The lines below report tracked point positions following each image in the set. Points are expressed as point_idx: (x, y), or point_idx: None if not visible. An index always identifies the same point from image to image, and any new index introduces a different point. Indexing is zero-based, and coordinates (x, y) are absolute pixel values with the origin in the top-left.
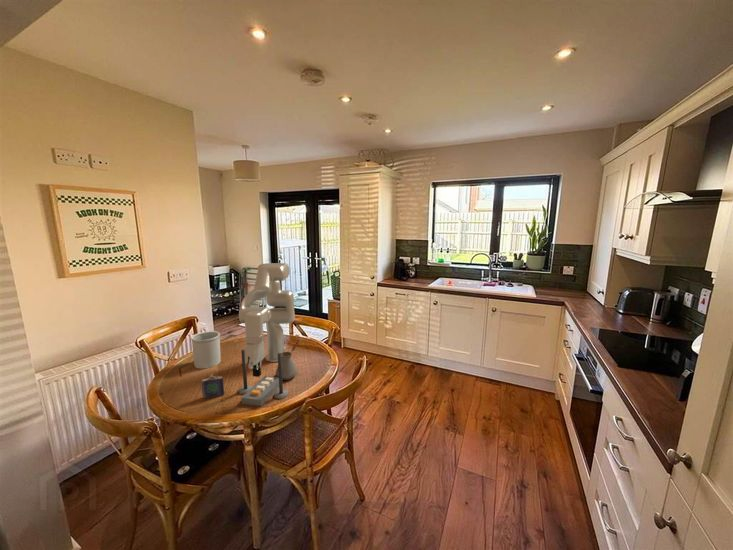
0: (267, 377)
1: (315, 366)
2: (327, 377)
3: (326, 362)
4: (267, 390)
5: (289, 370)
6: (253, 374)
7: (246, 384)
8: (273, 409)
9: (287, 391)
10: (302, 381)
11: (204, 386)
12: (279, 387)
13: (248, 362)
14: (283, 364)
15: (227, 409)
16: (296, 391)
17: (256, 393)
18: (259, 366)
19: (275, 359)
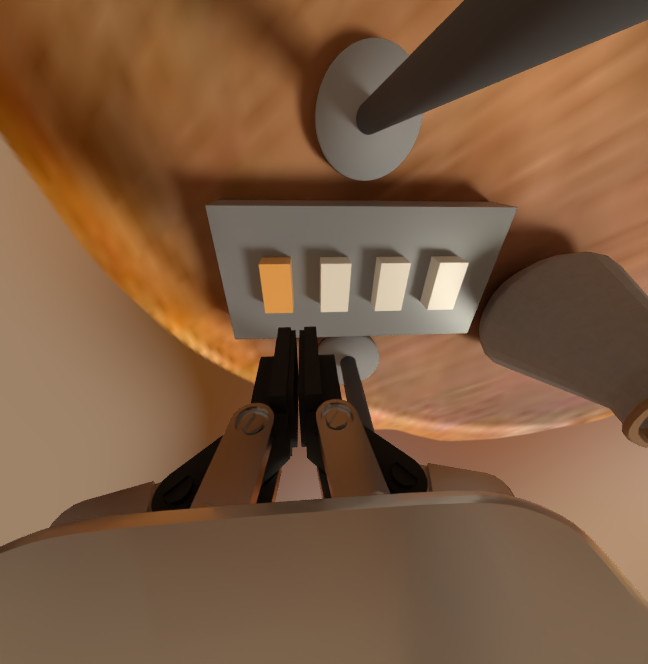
0: (461, 269)
1: None
2: (477, 436)
3: None
4: (329, 323)
5: (516, 369)
6: (277, 343)
7: (373, 129)
8: (243, 371)
9: (362, 378)
10: (458, 382)
11: None
12: (345, 382)
13: (91, 580)
14: (567, 365)
15: (122, 134)
16: (380, 391)
17: (264, 299)
18: (315, 462)
19: None
